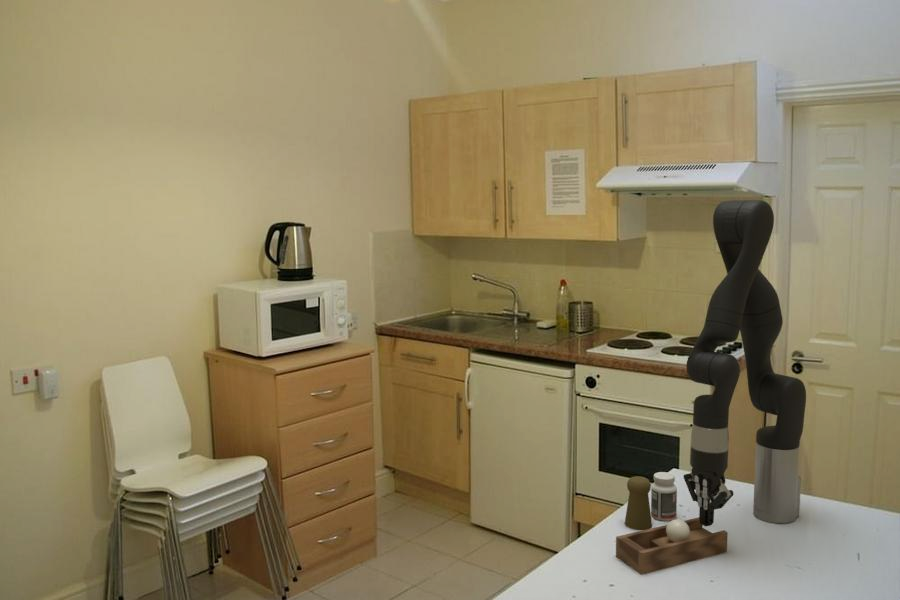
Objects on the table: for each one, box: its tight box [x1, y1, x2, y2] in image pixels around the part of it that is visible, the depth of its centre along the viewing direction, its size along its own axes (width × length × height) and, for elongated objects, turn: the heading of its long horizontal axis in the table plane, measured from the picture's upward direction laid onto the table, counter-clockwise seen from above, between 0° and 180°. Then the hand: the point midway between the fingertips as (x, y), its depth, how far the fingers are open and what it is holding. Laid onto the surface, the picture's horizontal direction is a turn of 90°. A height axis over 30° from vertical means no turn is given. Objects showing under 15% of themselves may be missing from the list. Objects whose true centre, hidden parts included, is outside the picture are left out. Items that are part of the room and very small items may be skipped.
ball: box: [666, 518, 690, 542], centre depth 164 cm, size 5×5×5 cm
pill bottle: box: [650, 471, 678, 522], centre depth 182 cm, size 6×6×10 cm
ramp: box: [615, 516, 729, 575], centre depth 163 cm, size 22×8×4 cm, turn 114°
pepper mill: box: [624, 475, 653, 531], centre depth 178 cm, size 6×6×11 cm
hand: (706, 524), depth 167 cm, fingers closed
